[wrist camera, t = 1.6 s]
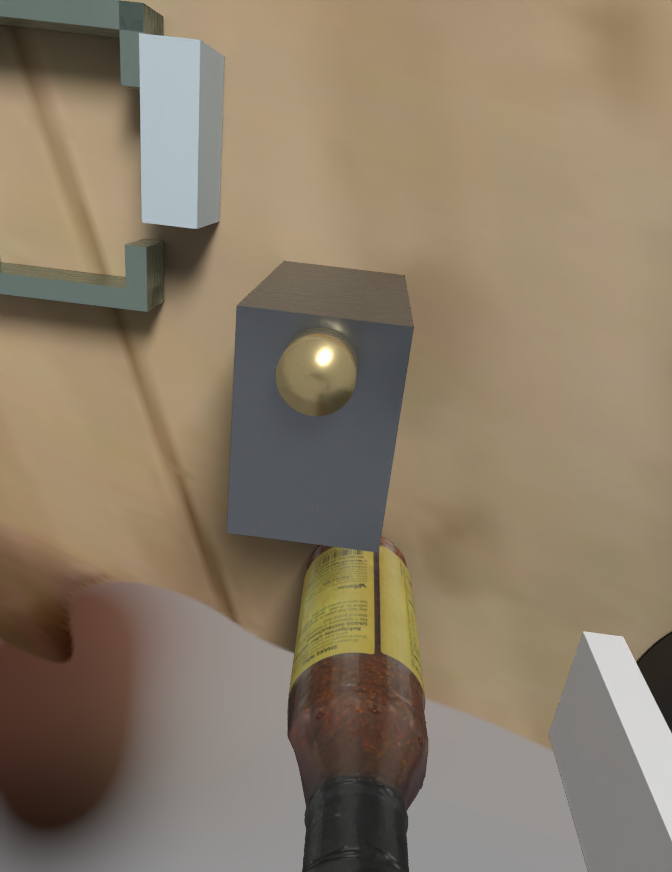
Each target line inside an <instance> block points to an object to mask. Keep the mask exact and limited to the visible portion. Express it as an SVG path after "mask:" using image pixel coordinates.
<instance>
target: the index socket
mask: <svg viewBox="0 0 672 872" xmlns="http://www.w3.org/2000/svg"><path fill="white" fill-rule="evenodd" d="M0 25H6V26H15V27H24V28H33V29H42V30H51V31H60V32H69V33H78V34H87V35H96V36H105V37H114V38H120V70H121V85H122V86H126V87H129V88H132V89H136V90H139V91H140V65H139V33H142V34H151V35H160V36H163V16H162V15H160V14H159V13H157V12H156V11H154V10H153V9H151V8H150V7H148V6H147V5H145V4H144V3H138V2H129V1H120V0H0ZM125 265H126V277H118V276H110V275H102V274H93V273H85V272H77V271H69V270H60V269H52V268H44V267H36V266H27V265H19V264H11V263H3V262H0V294H5V295H13V296H22V297H30V298H38V299H46V300H54V301H62V302H71V303H79V304H87V305H95V306H103V307H111V308H120V309H128V310H136V311H144V312H148V311H149V310H151V309H153V308H154V307H156V306H158V305H159V304H161V303H163V302H164V241H156V240H148V239H142V240H139V241H136V242H132V243H129V244H126V245H125Z"/></svg>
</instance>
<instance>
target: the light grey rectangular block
mask: <svg viewBox="0 0 672 872" xmlns="http://www.w3.org/2000/svg"><path fill="white" fill-rule="evenodd" d="M224 57H225V56H223V55H222V54H220V53H219V52H217V51H216V50H214V49H213V48H211V47H210V46H208V45H207V44H205V43H204V42H203V41H201V40H196V39H187V38H178V37H169V36H160V35H151V34H142V33H139V65H140V130H141V196H142V223H151V224H159V225H167V226H176V227H184V228H193V229H198V228H201V227H204V226H207V225H210V224H213V223H216V222H219V218H220V186H221V154H222V121H223V89H224Z"/></svg>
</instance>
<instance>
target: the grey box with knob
mask: <svg viewBox="0 0 672 872" xmlns="http://www.w3.org/2000/svg"><path fill="white" fill-rule="evenodd" d="M413 329H414V325H413V320H412V314H411V308H410V303H409V297H408V291H407V286H406V280H405V275H398V274H390V273H382V272H373V271H365V270H357V269H348V268H340V267H331V266H323V265H315V264H306V263H298V262H290V261H284V262H283V263H282V264H280V265H279V266H278V267H277V268H276V269H275V270H274V271H273V272H272V273H271V274H270V275H269V276H268V277H267V278H266V279H264V280H263V281H262V282H261V283H260V284H259V285H258V286H257V287H256V288H255V289H254V290H253V291H252V292H251V293H250V294H248V295H247V296H246V297H245V298H244V299H243V300H242V301H241V302H240V303H239V304H238V305H237V311H236V334H235V357H234V380H233V403H232V426H231V449H230V471H229V494H228V517H227V533H232V534H239V535H247V536H255V537H262V538H270V539H278V540H285V541H293V542H301V543H308V544H316V545H324V546H331V547H339V548H347V549H355V550H362V551H370V552H379V546H380V539H381V533H382V526H383V520H384V514H385V507H386V501H387V495H388V488H389V482H390V476H391V469H392V463H393V456H394V450H395V444H396V437H397V431H398V425H399V418H400V412H401V405H402V399H403V393H404V386H405V380H406V374H407V367H408V361H409V354H410V348H411V342H412V335H413Z"/></svg>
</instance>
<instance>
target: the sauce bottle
mask: <svg viewBox="0 0 672 872" xmlns="http://www.w3.org/2000/svg"><path fill="white" fill-rule="evenodd" d="M424 710H425V693H424V685H423V676H422V668H421V659H420V650H419V642H418V633H417V625H416V617H415V608H414V599H413V591H412V583H411V578H410V575H409V572H408V570H407V567H406V562H405V559H404V556H403V554H402V553H401V552H400V551H399V550H398V549H397V548H396V547H395V545H394V544H392V543H390V542H389V541H388V540H386V539H385V538H383V537H381V539H380V546H379V552H370V551H362V550H355V549H347V548H339V547H331V546H324V545H320V546H319V547H318V548H317V549H316V550H315V552H314V553H313V555H312V557H311V559H310V561H309V563H308V567H307V572H306V575H305V578H304V584H303V592H302V599H301V606H300V614H299V622H298V630H297V638H296V645H295V653H294V660H293V668H292V675H291V683H290V691H289V699H288V738H289V740H290V742H291V745H292V747H293V749H294V752H295V755H296V759H297V762H298V766H299V770H300V775H301V780H302V786H303V792H304V797H305V802H306V811H305V826H306V837H305V847H304V858H303V870H302V872H409V867H408V850H407V836H406V833H407V829H408V816H407V810H408V808H409V807H410V805H411V803H412V802H413V800H414V799H415V797H416V795H417V794H418V792H419V790H420V789H421V788H422V785H423V781H424V778H425V773H426V765H427V756H428V736H427V729H426V721H425V715H424Z"/></svg>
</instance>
